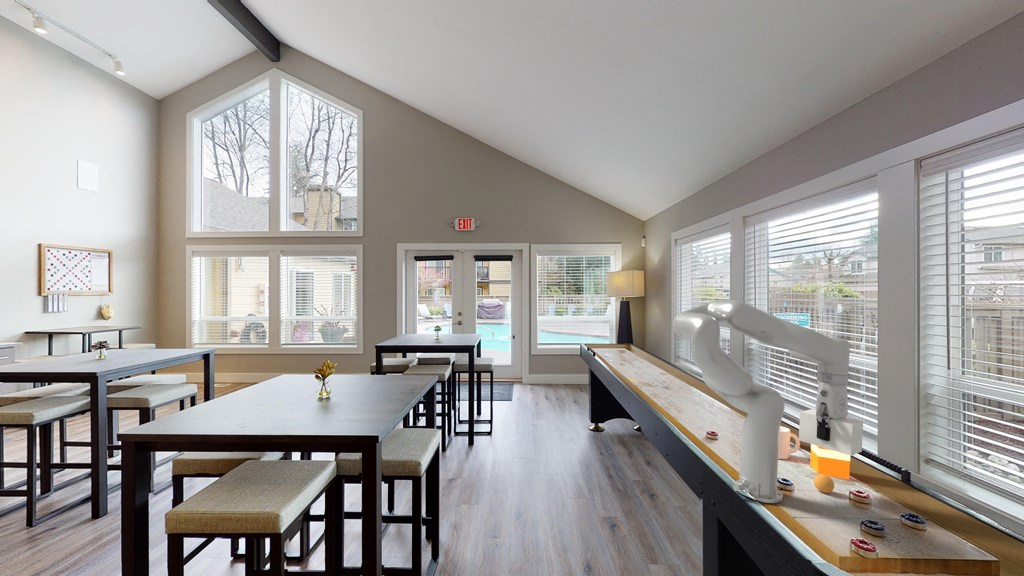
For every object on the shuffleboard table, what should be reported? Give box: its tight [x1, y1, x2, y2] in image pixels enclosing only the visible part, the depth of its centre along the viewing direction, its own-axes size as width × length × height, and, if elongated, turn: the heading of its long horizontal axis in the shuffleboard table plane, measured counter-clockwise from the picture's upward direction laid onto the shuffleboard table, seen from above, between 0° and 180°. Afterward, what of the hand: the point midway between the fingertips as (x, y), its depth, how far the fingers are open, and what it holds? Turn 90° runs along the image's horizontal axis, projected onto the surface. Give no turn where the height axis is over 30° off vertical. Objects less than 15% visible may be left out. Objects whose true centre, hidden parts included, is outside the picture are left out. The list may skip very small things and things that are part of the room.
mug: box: [778, 425, 801, 460], centre depth 154 cm, size 12×8×10 cm
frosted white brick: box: [798, 408, 864, 457], centre depth 125 cm, size 8×13×9 cm, turn 32°
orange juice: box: [810, 415, 851, 480], centre depth 142 cm, size 8×9×20 cm
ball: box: [813, 474, 835, 494], centre depth 126 cm, size 5×5×5 cm
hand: (829, 437), depth 125 cm, fingers closed on frosted white brick, 7 cm apart
